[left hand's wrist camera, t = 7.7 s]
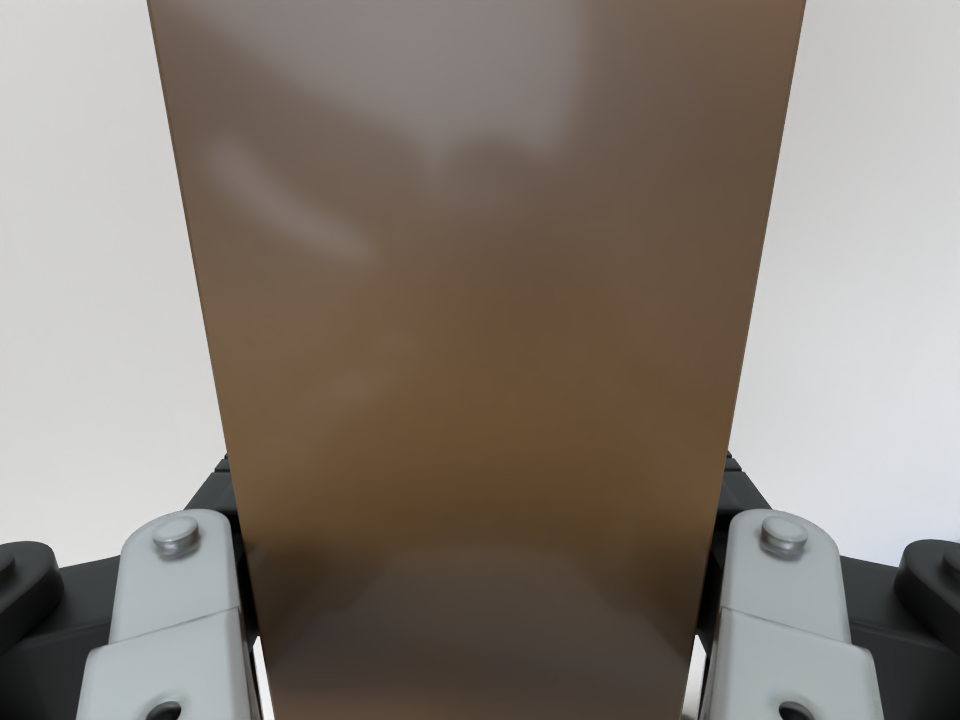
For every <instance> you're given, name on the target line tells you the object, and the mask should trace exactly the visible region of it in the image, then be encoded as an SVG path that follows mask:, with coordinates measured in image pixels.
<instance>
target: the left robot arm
mask: <svg viewBox="0 0 960 720" xmlns="http://www.w3.org/2000/svg"><path fill="white" fill-rule="evenodd" d="M695 635H698V636H699V638H700V640H701V643H702V645H703V647H704V650H705V652H706V656H705V661H704V666H703V673H702V681H701V688H700V695H699V702H698V709H697V716H696V720H960V544H959V543H955V542H950V541H944V540H933V539H928V540H919V541H915V542H913V543H910V544H909V545H908V546H907V547H906V548H905V550H904V552H903V555H902V559H901V562H900V565H899V568H898V567H893V566H888V565H883V564H878V563H873V562H868V561H863V560H859V559H854V558H849V557H845V556H841V555H839V550H838V547H837V545H836V543H835V542H834V540H833V539H832V538H831V537H830V536H829V535H828V534H827V533H826V532H825V531H824V530H822V529H821V528H820V527H818V526H817V525H815V524H813V523H811V522H810V521H808V520H806V519H803V518H801V517H799V516H796V515H793V514H790V513H787V512H783V511H778V510H773V509H772V508H771V507H770V505H769V504H768V503H767V501H766V500H765V499H764V497H763V496H762V495H761V493H760V492H759V491H758V489H757V488H756V487H755V485H754V484H753V483H752V481H751V480H750V479H749V477H748V476H747V475H746V473H745V472H742V468H741V467H740V465H739V464H738V463H737V461H736V460H735V459H734V458H732V455H731V453H730V452H729V451H728V450H727V456H726V462H725V468H724V473H723V479H722V485H721V491H720V496H719V502H718V508H717V513H716V519H715V525H714V531H713V536H712V542H711V548H710V554H709V559H708V565H707V571H706V576H705V582H704V588H703V594H702V599H701V605H700V611H699V617H698V622H697V628H696V634H695ZM257 636H260V634H259V628H258V623H257V617H256V612H255V606H254V600H253V595H252V589H251V584H250V578H249V572H248V567H247V561H246V555H245V550H244V544H243V539H242V533H241V527H240V522H239V516H238V511H237V505H236V499H235V494H234V488H233V482H232V477H231V471H230V466H229V460H228V454H227V453H226V455H225V458H224V459H222V460H221V461H220V463H219V464H218V465H217V466H216V468H215V471H214V472H212V473H211V474H210V476H209V477H208V478H207V480H206V481H205V482H204V484H203V485H202V486H201V488H200V489H199V490H198V491H197V493H196V494H195V495H194V497H193V498H192V499H191V501H190V502H189V503H188V505H187V506H186V507H185V509H184V510H182V511H177V512H173V513H170V514H167V515H164V516H161V517H159V518H157V519H154V520H152V521H150V522H149V523H147V524H145V525H143V526H142V527H141V528H139V529H138V530H136V531H135V532H134V533H133V534H132V535H131V536H130V537H129V538H128V539H127V540H126V542H125V544H124V545H123V547H122V551H121V555H118V556H115V557H111V558H107V559H102V560H97V561H93V562H88V563H83V564H78V565H73V566H68V567H63V568H59V567H58V564H57V561H56V558H55V555H54V552H53V550H52V549H51V548H50V547H49V546H48V545H46V544H43V543H40V542H34V541H21V542H12V543H6V544H2V545H0V720H264V716H263V709H262V702H261V695H260V688H259V680H258V673H257V666H256V661H255V656H254V650H253V645H254V643H255V640H256V638H257Z"/></svg>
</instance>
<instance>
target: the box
mask: <svg viewBox="0 0 960 720" xmlns="http://www.w3.org/2000/svg"><path fill="white" fill-rule="evenodd" d="M805 4H806V0H147V5H148V11H149V17H150V22H151V28H152V33H153V39H154V45H155V50H156V56H157V62H158V67H159V73H160V78H161V84H162V90H163V95H164V101H165V106H166V112H167V118H168V123H169V129H170V134H171V140H172V146H173V151H174V157H175V163H176V168H177V174H178V179H179V185H180V191H181V196H182V202H183V207H184V213H185V219H186V224H187V230H188V236H189V241H190V247H191V252H192V258H193V264H194V269H195V275H196V280H197V286H198V292H199V297H200V303H201V308H202V314H203V320H204V325H205V331H206V337H207V342H208V348H209V353H210V359H211V365H212V370H213V376H214V381H215V387H216V393H217V398H218V404H219V410H220V415H221V421H222V426H223V432H224V438H225V443H226V449H227V454H228V460H229V466H230V471H231V477H232V482H233V488H234V494H235V499H236V505H237V511H238V516H239V522H240V527H241V533H242V539H243V544H244V550H245V555H246V561H247V567H248V572H249V578H250V584H251V589H252V595H253V600H254V606H255V612H256V617H257V623H258V628H259V634H260V640H261V645H262V651H263V656H264V662H265V668H266V673H267V679H268V685H269V690H270V696H271V701H272V707H273V713H274V718H275V720H681V714H682V708H683V702H684V697H685V691H686V685H687V680H688V674H689V668H690V662H691V657H692V651H693V645H694V639H695V634H696V628H697V622H698V617H699V611H700V605H701V599H702V594H703V588H704V582H705V576H706V571H707V565H708V559H709V554H710V548H711V542H712V536H713V531H714V525H715V519H716V513H717V508H718V502H719V496H720V491H721V485H722V479H723V473H724V468H725V462H726V456H727V450H728V445H729V439H730V433H731V428H732V422H733V416H734V410H735V405H736V399H737V393H738V387H739V382H740V376H741V370H742V364H743V359H744V353H745V347H746V342H747V336H748V330H749V324H750V319H751V313H752V307H753V301H754V296H755V290H756V284H757V279H758V273H759V267H760V261H761V256H762V250H763V244H764V238H765V233H766V227H767V221H768V216H769V210H770V204H771V198H772V193H773V187H774V181H775V175H776V170H777V164H778V158H779V153H780V147H781V141H782V135H783V130H784V124H785V118H786V112H787V107H788V101H789V95H790V90H791V84H792V78H793V72H794V67H795V61H796V55H797V49H798V44H799V38H800V32H801V27H802V21H803V15H804V9H805Z"/></svg>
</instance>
